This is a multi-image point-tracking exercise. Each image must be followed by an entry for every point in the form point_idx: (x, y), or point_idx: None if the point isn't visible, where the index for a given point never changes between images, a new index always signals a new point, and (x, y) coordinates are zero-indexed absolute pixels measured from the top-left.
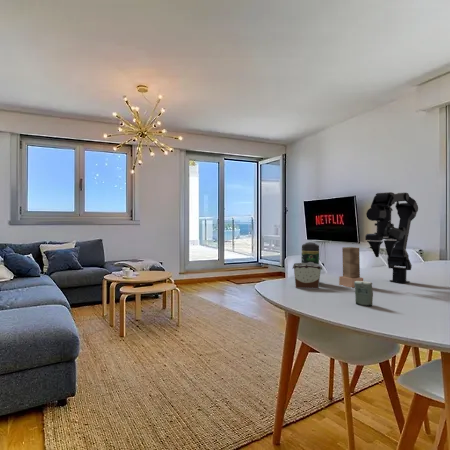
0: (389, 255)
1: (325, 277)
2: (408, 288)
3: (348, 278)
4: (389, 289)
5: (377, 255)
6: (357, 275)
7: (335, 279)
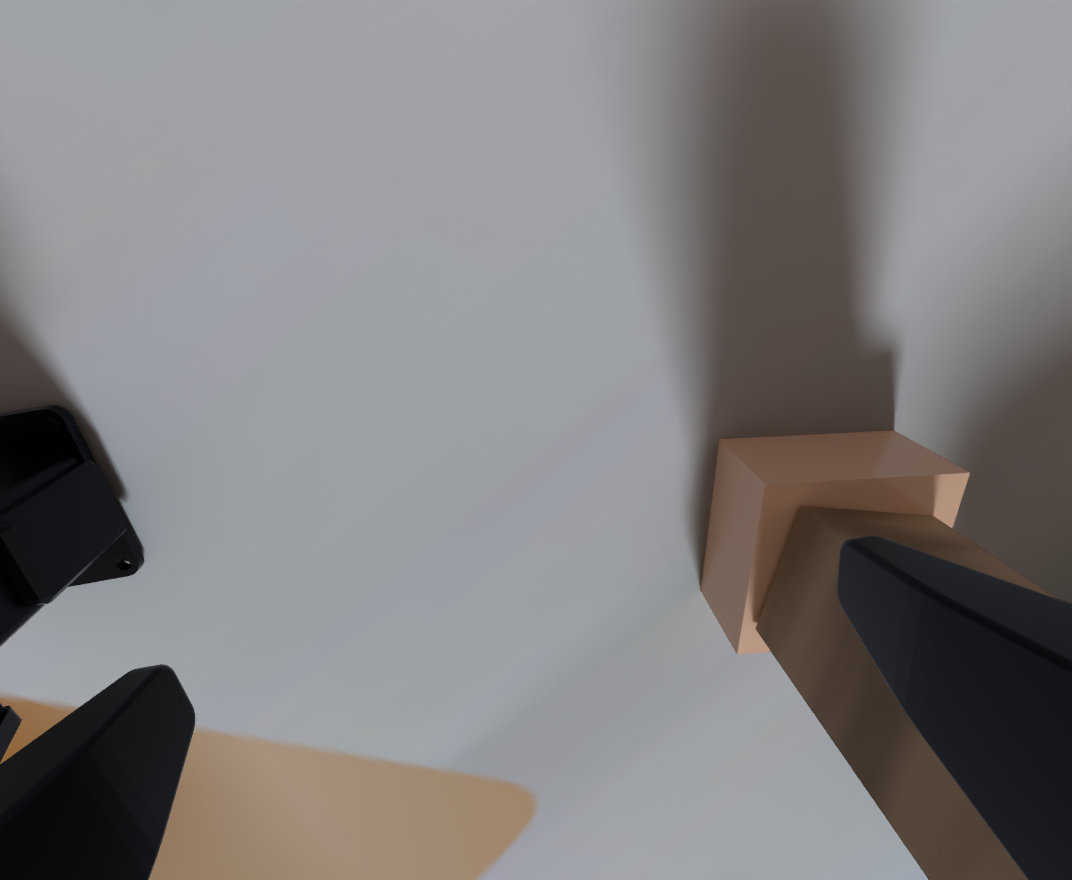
0: (165, 695)
1: (644, 859)
2: (259, 109)
3: (953, 516)
4: (596, 171)
5: (926, 570)
6: (851, 523)
7: (644, 777)
